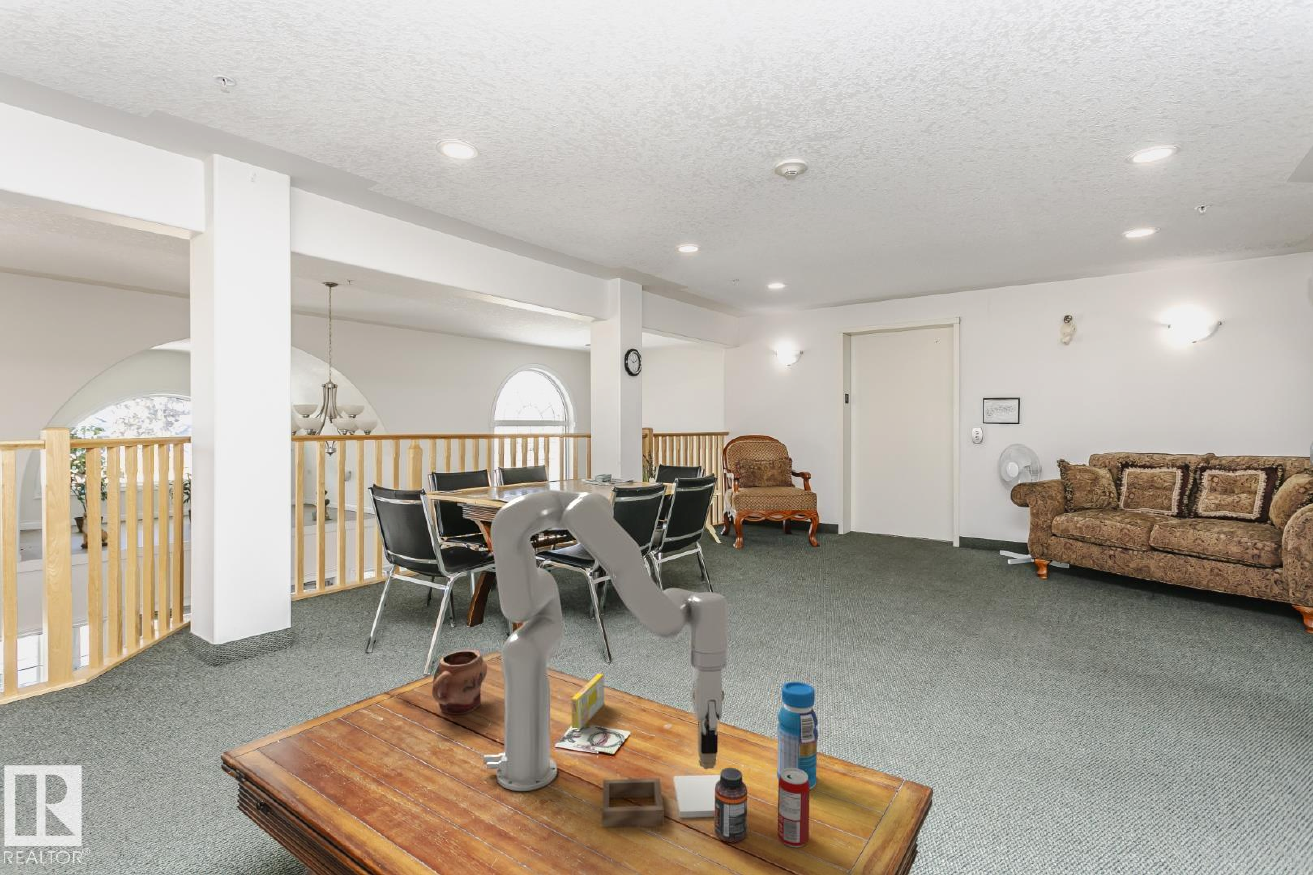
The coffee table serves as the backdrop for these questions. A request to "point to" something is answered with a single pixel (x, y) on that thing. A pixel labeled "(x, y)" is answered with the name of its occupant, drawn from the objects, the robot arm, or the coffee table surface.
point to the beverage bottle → (798, 730)
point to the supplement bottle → (730, 806)
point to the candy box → (587, 701)
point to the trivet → (696, 795)
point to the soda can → (793, 807)
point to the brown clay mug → (459, 681)
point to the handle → (705, 759)
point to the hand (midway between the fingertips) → (707, 745)
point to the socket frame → (632, 814)
